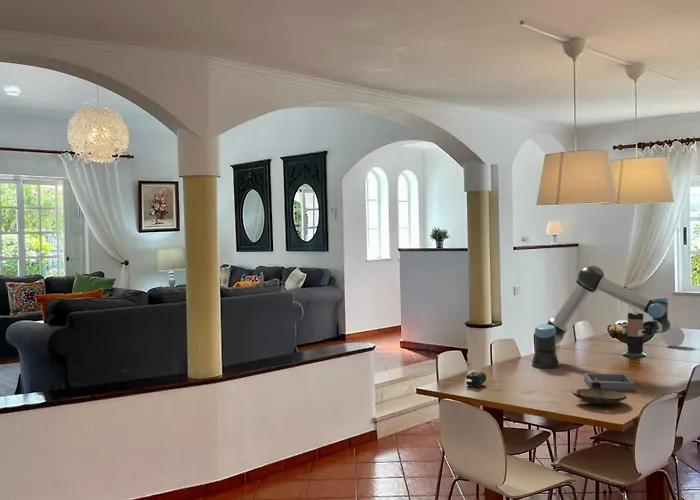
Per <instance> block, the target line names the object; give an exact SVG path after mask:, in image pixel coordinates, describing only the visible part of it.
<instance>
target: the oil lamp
mask: <svg viewBox="0 0 700 500" xmlns="http://www.w3.org/2000/svg"><path fill="white" fill-rule="evenodd" d="M592 386H593V389H590V388H579V389H577V390H576V391H574V392H573V391H572V395H573V396H575V397H576V398H578V399H580V400H582V401H584V402H586V403H589V404H593V405H600V406H601V405H602V406H604V405H606V406H607V405H608V406H609V405H612V404H616V403H619V402H621V401H624V400H625V399H627V395H626V394H624V393H622V392H620V391H618V392H617V391H609V390H602V389H601V388H600V386H601V383H599V381H598V379H597V378H595V379H594V382H593V383H592Z"/></svg>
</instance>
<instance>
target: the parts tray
mask: <svg viewBox="0 0 700 500" xmlns="http://www.w3.org/2000/svg"><path fill="white" fill-rule="evenodd" d="M595 378H597V379H598V381H599V383H601V386H600V388H601V389H602V390H609V391H614V392H617V391H618V392H635V382H634V381H632V379H630V377H628V376H627V374H626V373H625V374H622V373H620V374H619V373H595V372H594V373H590V372H589V373H587V372H584V374H583V379H584V380H583V381H584V383H585V384H586V386H587V387H588V389H593V386H592V383H593V382H594V379H595Z"/></svg>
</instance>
